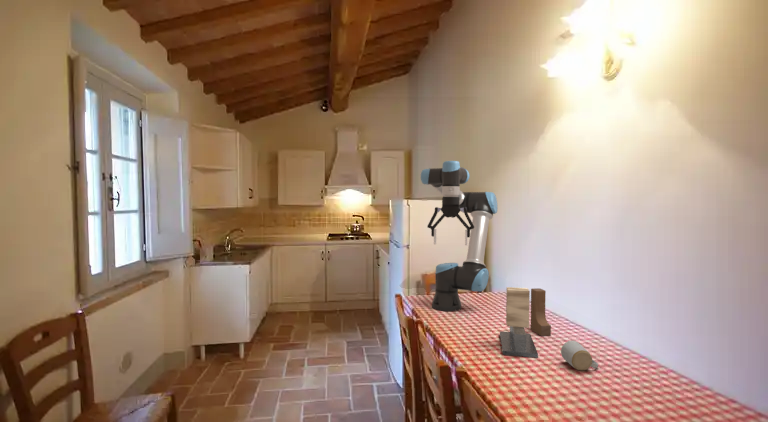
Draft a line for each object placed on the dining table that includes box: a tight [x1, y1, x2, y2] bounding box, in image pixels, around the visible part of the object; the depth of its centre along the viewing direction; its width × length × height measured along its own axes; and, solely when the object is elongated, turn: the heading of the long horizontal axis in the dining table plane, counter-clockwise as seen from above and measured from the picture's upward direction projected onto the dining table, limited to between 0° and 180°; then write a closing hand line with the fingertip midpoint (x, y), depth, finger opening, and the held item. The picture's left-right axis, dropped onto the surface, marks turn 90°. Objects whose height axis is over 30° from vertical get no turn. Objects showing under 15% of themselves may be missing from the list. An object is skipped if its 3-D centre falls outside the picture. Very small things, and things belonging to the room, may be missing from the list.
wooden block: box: [530, 287, 552, 337], centre depth 167 cm, size 9×4×18 cm, turn 7°
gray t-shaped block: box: [499, 326, 539, 359], centre depth 152 cm, size 22×12×8 cm, turn 166°
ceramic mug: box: [560, 340, 599, 371], centre depth 133 cm, size 11×8×8 cm
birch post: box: [505, 286, 531, 329], centre depth 152 cm, size 5×8×14 cm, turn 76°
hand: (450, 244), depth 173 cm, fingers open, 13 cm apart
